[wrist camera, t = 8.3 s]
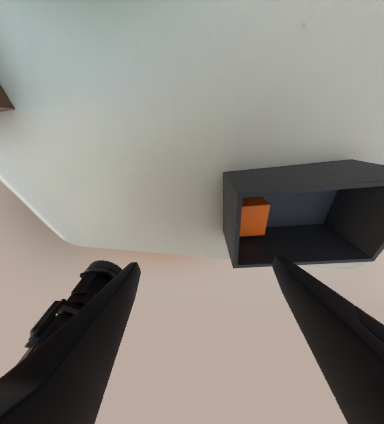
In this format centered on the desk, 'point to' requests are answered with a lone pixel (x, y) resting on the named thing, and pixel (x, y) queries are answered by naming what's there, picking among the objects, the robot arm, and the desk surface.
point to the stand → (4, 101)
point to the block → (254, 216)
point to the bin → (308, 213)
